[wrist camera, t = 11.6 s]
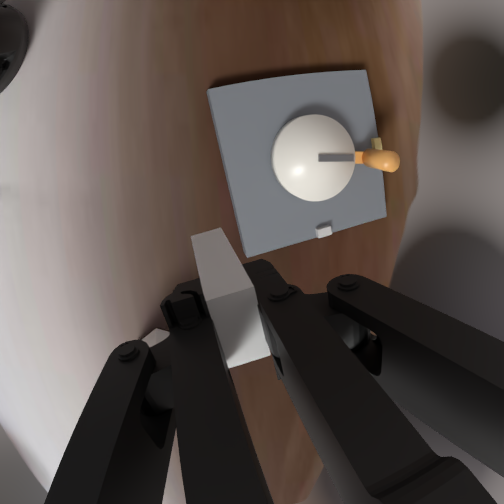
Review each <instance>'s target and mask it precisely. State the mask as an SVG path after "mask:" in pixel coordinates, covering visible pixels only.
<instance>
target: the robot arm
mask: <svg viewBox="0 0 504 504" xmlns="http://www.w3.org/2000/svg"><path fill="white" fill-rule="evenodd" d="M5 1H6V0H0V93H1V92H2V91H3V90H4V89H5V88H6V87H7V86H8V84H9V83H10V82H11V81H12V79H13V78H14V76H15V75H16V73H17V71H18V70H19V68H20V66H21V63H22V61H23V59H24V56H25V53H26V49H27V45H28V26H27V22H26V20H25V18H24V17H23V15H22V14H21V13H20V12H19V11H17V10H16V9H15V8H13V7H11V6H9V5H6V4H2V3H3V2H5ZM191 240H192V245H193V249H194V254H195V259H196V263H197V268H198V272H199V277H200V278H198V279H195V280H191V281H188V282H185V283H181V284H178V285H177V286H176V287H175V289H174V290H173V293H172V294H170V295H169V296H167V297H166V298H165V299H164V300H163V301H162V302H161V305H160V307H161V309H162V312H163V314H164V317H165V319H166V322H167V324H168V327H169V333H170V335H169V336H168V337H167V338H166V339H164V340H163V341H161V342H159V343H158V344H156V345H154V346H152V347H149V346H148V344H147V343H146V342H145V341H142V340H132V341H127V342H125V343H122V344H121V345H119V346H118V347H117V348H115V349H114V350H113V352H112V353H111V354H110V356H109V358H108V360H107V362H106V364H105V366H104V368H103V370H102V372H101V374H100V376H99V378H98V380H97V382H96V384H95V386H94V388H93V390H92V392H91V394H90V397H89V399H88V401H87V403H86V405H85V407H84V409H83V412H82V414H81V416H80V418H79V420H78V423H77V425H76V427H75V429H74V431H73V434H72V436H71V438H70V441H69V443H68V445H67V448H66V450H65V452H64V455H63V457H62V460H61V462H60V464H59V467H58V469H57V472H56V474H55V477H54V479H53V482H52V484H51V487H50V490H49V492H48V495H47V498H46V500H45V503H44V504H162V500H163V495H164V489H165V483H166V478H167V472H168V467H169V462H170V456H171V451H172V446H173V441H174V436H175V430H176V429H177V438H178V447H179V455H180V463H181V471H182V478H183V485H184V491H185V498H186V504H274V502H273V499H272V497H271V494H270V491H269V488H268V486H267V483H266V480H265V477H264V474H263V471H262V469H261V466H260V463H259V460H258V457H257V454H256V451H255V448H254V445H253V442H252V439H251V436H250V433H249V430H248V427H247V424H246V421H245V418H244V415H243V412H242V408H241V405H240V402H239V399H238V396H237V393H236V389H235V386H234V383H233V379H232V376H231V374H230V371H229V368H231V367H234V366H238V365H241V364H244V363H247V362H251V361H254V360H257V359H260V358H263V357H266V356H269V355H270V351H269V348H270V350H271V352H272V356H273V361H274V365H275V369H276V373H277V378H278V380H280V379H282V381H283V383H284V385H285V387H286V389H287V392H288V394H289V396H290V398H291V400H292V402H293V404H294V406H295V408H296V410H297V412H298V414H299V416H300V418H301V420H302V422H303V424H304V426H305V428H306V430H307V432H308V434H309V436H310V438H311V440H312V442H313V444H314V446H315V448H316V450H317V452H318V454H319V456H320V458H321V460H322V462H323V464H324V466H325V468H326V470H327V472H328V474H329V476H330V478H331V480H332V481H333V483H334V485H335V487H336V489H337V491H338V493H339V495H340V497H341V499H342V501H343V503H344V504H497V503H496V501H495V500H494V499H493V498H492V497H491V495H490V494H489V493H488V492H487V491H486V489H485V488H484V487H483V486H482V484H481V483H480V482H479V481H478V480H477V478H476V477H475V476H474V475H473V473H472V472H471V471H470V470H469V469H468V467H466V466H465V465H464V464H463V463H462V462H461V461H460V460H458V459H456V458H454V457H452V456H451V457H440V456H438V455H437V454H436V453H435V452H433V450H432V449H431V448H430V447H429V446H428V444H427V443H426V442H425V441H424V439H423V438H422V437H421V435H420V434H419V433H418V432H417V430H416V429H415V428H414V427H413V426H412V424H411V423H410V422H409V421H408V419H407V418H406V417H405V416H404V414H403V413H402V412H401V411H400V409H399V408H398V407H397V406H396V404H394V402H396V403H397V404H399V405H400V406H401V407H403V408H404V409H405V410H407V411H408V412H410V413H411V414H412V415H414V416H415V417H417V418H418V419H419V420H421V421H422V422H424V423H425V424H426V425H428V426H429V427H431V428H432V429H434V430H435V431H436V432H438V433H439V434H441V435H442V436H443V437H445V438H446V439H448V440H449V441H451V442H452V443H454V444H455V445H456V446H458V447H459V448H461V449H462V450H464V451H465V452H467V453H468V454H470V455H471V456H473V457H474V458H475V459H477V460H479V461H480V462H481V463H483V464H485V465H486V466H487V467H489V468H490V469H492V470H493V471H495V472H496V473H498V474H499V475H501V476H502V477H504V342H502V341H501V340H499V339H497V338H494V337H492V336H490V335H488V334H486V333H484V332H482V331H480V330H478V329H476V328H473V327H471V326H469V325H467V324H465V323H463V322H461V321H459V320H457V319H455V318H452V317H450V316H448V315H446V314H444V313H442V312H440V311H437V310H435V309H433V308H431V307H429V306H427V305H424V304H422V303H420V302H418V301H416V300H414V299H412V298H409V297H407V296H405V295H403V294H401V293H398V292H396V291H394V290H392V289H390V288H388V287H385V286H383V285H381V284H379V283H377V282H374V281H372V280H370V279H368V278H365V277H363V276H360V275H354V274H345V275H340V276H338V277H336V278H333V279H332V280H331V281H329V283H328V284H327V292H325V293H318V294H304V293H303V292H302V290H301V289H300V288H298V287H297V286H294V285H290V284H287V283H286V282H285V280H284V279H283V278H282V277H281V275H280V274H279V273H278V272H277V270H276V269H275V268H274V267H273V265H272V264H271V263H270V262H268V261H266V260H263V259H259V260H256V261H253V262H249V263H246V264H241V262H240V261H239V259H238V257H237V255H236V254H235V252H234V250H233V248H232V246H231V245H230V243H229V241H228V239H227V238H226V236H225V234H224V232H223V230H222V229H221V228H218V229H214V230H211V231H207V232H204V233H200V234H197V235H193V236H191ZM370 330H371V331H373V332H374V333H375V334H376V335H377V337H376V336H374V335H372V334H371V333H370ZM268 346H269V347H268ZM391 399H392V400H393V401H394V402H393V401H392V400H391Z"/></svg>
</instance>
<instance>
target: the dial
mask: <svg viewBox="0 0 504 504" xmlns="http://www.w3.org/2000/svg"><path fill="white" fill-rule="evenodd" d="M355 164H364V165H365V166H366V167H370V168H375V169H379V170H384V171H388V172H394V171H396V170H397V169H398V167H399V164H400V159H399V156H398V154H397V153H396V152H394V151H387V150H379V149H371V148H368V149H366V150H365V151H355V149H354V145H353V142H352V139H351V137H350V135H349V134H348V132H347V131H346V129H345V128H344V127H343V126H342V125H341V124H340V123H338V122H337V121H336V120H334V119H332V118H330V117H327V116H324V115H317V114H314V115H305V116H300V117H297V118H294V119H292V120H290V121H289V122H288V123H286V124H285V125H284V126H283V127H282V128H281V129H280V131H279V132H278V133H277V135H276V137H275V139H274V141H273V145H272V149H271V165H272V170H273V172H274V175H275V177H276V179H277V181H278V182H279V183H280V185H281V186H282V187H283V188H284V189H285V190H286V191H288V192H289V193H291V194H292V195H294V196H296V197H299V198H301V199H303V200H307V201H323V200H327V199H329V198H332V197H334V196H335V195H337V194H338V193H339V192H341V191H342V190H343V189H344V188H345V186H346V185H347V184H348V182H349V180H350V179H351V176H352V174H353V171H354V167H355Z"/></svg>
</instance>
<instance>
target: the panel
mask: <svg viewBox="0 0 504 504" xmlns="http://www.w3.org/2000/svg"><path fill="white" fill-rule="evenodd" d="M207 97H208V101H209V105H210V110H211V114H212V118H213V123H214V127H215V131H216V136H217V140H218V144H219V149H220V153H221V157H222V162H223V166H224V170H225V174H226V179H227V183H228V187H229V191H230V196H231V200H232V204H233V208H234V213H235V217H236V221H237V225H238V230H239V234H240V238H241V242H242V246H243V251H244V253H245V255H246V257H247V258H248V257H251V256H255V255H258V254H262V253H265V252H268V251H272V250H275V249H279V248H282V247H285V246H289V245H292V244H295V243H299V242H302V241H306V240H309V239H312V238H316V237H318V238H322V237H325V236H328V235H332V233H333V232H336V231H339V230H343V229H346V228H349V227H353V226H356V225H360V224H363V223H366V222H370V221H373V220H376V219H380V218H383V217H386V204H385V192H384V182H383V173H382V170H379V169H375V168H370V167H366V166H365V165H364V164H355V167H354V171H353V174H352V176H351V179H350V180H349V182H348V184H347V185H346V186H345V188H344V189H343V190H342V191H341V192H339V193H338V194H337V195H335V196H334V197H332V198H329V199H327V200H323V201H307V200H303V199H301V198H299V197H296V196H294V195H292V194H291V193H289V192H288V191H286V190H285V189H284V188H283V187H282V186H281V185H280V183H279V182H278V181H277V179H276V177H275V175H274V172H273V170H272V165H271V149H272V145H273V141H274V139H275V137H276V135H277V133H278V132H279V131H280V129H281V128H282V127H283V126H284V125H285V124H286V123H288V122H289V121H290V120H292V119H294V118H297V117H300V116H305V115H314V114H317V115H324V116H327V117H330V118H332V119H334V120H336V121H337V122H338V123H340V124H341V125H342V126H343V127H344V128H345V129H346V131H347V132H348V134H349V135H350V137H351V139H352V142H353V145H354V149H355V151H365V150H366V149H368V148H371V149H379V150H382V144H381V138H378V134H377V127H376V121H375V115H374V109H373V104H372V98H371V93H370V88H369V83H368V78H367V73H366V70H349V71H332V72H320V73H309V74H299V75H290V76H282V77H275V78H268V79H261V80H255V81H249V82H243V83H237V84H232V85H227V86H222V87H217V88H212V89H208V90H207Z"/></svg>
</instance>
